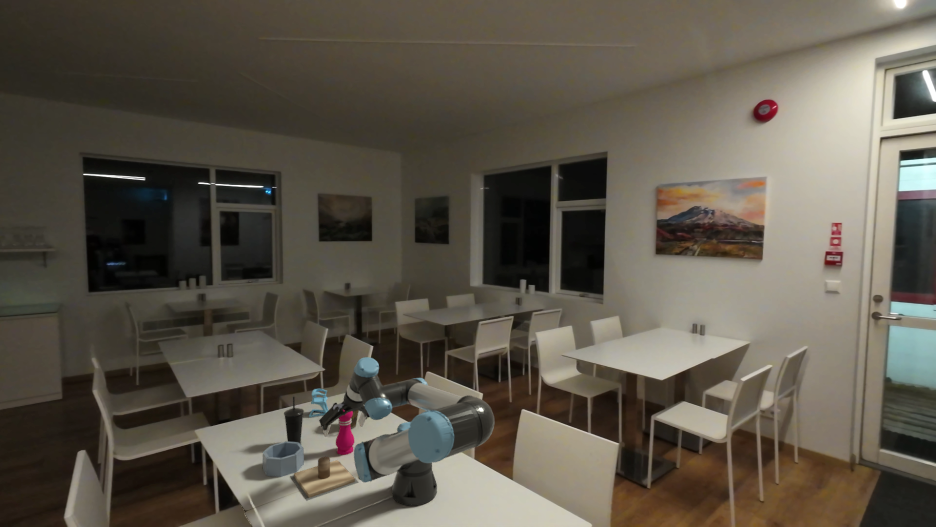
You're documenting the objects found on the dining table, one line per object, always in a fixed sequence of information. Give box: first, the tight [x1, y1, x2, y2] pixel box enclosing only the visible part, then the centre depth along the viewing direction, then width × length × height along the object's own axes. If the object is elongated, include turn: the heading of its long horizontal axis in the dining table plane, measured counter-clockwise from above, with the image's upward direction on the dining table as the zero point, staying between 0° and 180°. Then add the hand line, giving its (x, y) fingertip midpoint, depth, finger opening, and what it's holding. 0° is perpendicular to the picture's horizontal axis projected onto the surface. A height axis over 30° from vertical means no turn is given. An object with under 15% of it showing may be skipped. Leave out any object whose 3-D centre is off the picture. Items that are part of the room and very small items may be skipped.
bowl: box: [262, 440, 305, 478], centre depth 166 cm, size 13×13×7 cm
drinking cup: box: [283, 396, 305, 444], centre depth 185 cm, size 8×8×20 cm
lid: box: [293, 456, 356, 498], centre depth 158 cm, size 16×16×7 cm
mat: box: [289, 466, 359, 501], centre depth 159 cm, size 18×18×1 cm
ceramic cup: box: [338, 402, 360, 430], centre depth 200 cm, size 13×10×10 cm
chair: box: [308, 388, 329, 418], centre depth 215 cm, size 8×8×12 cm
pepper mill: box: [335, 410, 355, 456], centre depth 178 cm, size 7×7×20 cm
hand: (343, 428), depth 166 cm, fingers open, 13 cm apart
